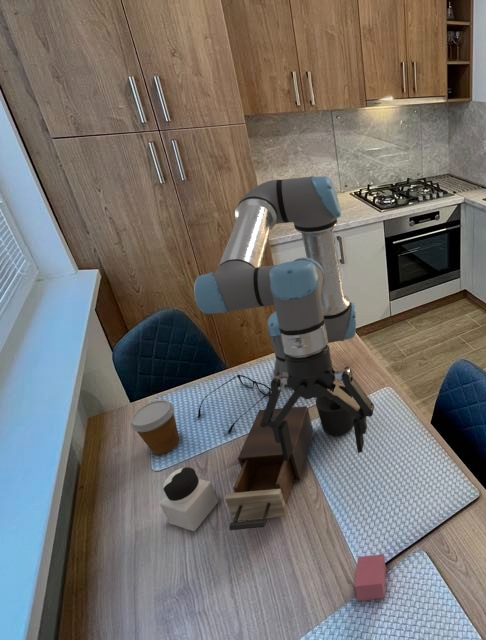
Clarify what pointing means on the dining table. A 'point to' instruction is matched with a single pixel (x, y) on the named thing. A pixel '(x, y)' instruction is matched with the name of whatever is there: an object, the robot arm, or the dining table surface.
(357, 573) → the block
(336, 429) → the pen holder
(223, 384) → the eyeglasses
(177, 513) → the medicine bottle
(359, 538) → the dining table surface
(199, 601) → the dining table surface
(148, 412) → the disposable coffee cup
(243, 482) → the drawer
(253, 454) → the cabinet
